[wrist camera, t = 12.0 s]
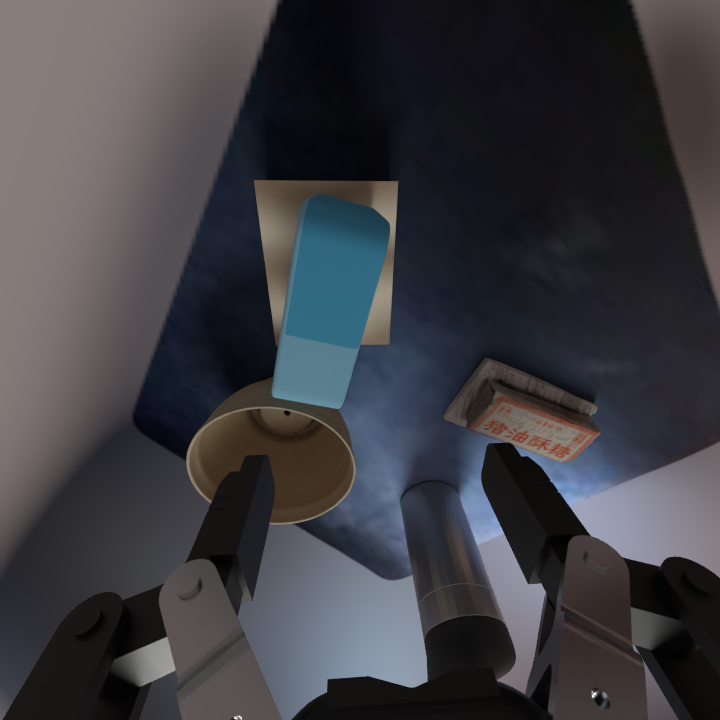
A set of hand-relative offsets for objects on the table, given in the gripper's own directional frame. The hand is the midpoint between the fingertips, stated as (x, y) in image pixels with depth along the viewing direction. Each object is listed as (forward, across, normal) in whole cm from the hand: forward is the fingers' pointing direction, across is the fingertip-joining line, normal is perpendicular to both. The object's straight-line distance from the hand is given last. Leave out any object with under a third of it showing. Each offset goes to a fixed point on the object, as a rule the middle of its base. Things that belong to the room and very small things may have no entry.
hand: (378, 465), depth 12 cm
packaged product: (+26, -21, +17) cm, 37 cm away
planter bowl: (+25, +9, +15) cm, 31 cm away
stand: (+25, +2, -3) cm, 25 cm away
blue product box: (+20, +2, -3) cm, 20 cm away
